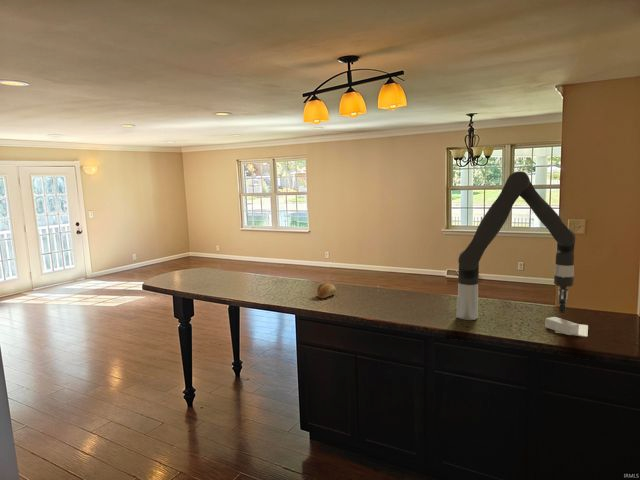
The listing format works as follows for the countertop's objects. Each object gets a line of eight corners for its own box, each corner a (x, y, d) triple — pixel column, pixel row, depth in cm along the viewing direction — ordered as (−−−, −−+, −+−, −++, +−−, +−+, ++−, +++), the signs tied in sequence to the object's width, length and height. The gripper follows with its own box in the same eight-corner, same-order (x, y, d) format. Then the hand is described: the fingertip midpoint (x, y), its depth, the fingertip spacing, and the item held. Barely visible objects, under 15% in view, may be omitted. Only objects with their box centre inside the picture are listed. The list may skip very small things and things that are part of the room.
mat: (555, 332, 187) (555, 331, 187) (557, 322, 200) (557, 321, 200) (587, 337, 181) (587, 336, 180) (587, 326, 194) (588, 325, 194)
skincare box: (544, 327, 193) (568, 335, 182) (545, 317, 192) (568, 325, 181) (554, 325, 195) (578, 333, 184) (555, 316, 194) (579, 324, 183)
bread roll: (313, 298, 253) (312, 285, 252) (325, 292, 266) (325, 280, 265) (327, 300, 248) (327, 286, 247) (339, 294, 261) (339, 281, 260)
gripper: (555, 271, 197) (553, 307, 199) (553, 276, 186) (551, 315, 188) (574, 272, 193) (572, 310, 195) (573, 278, 182) (571, 317, 184)
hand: (562, 312), depth 192 cm, fingers closed
